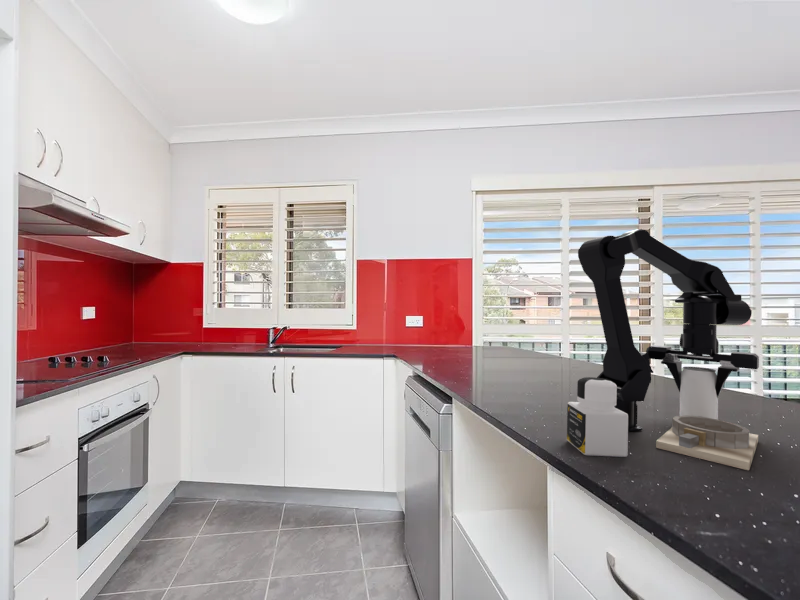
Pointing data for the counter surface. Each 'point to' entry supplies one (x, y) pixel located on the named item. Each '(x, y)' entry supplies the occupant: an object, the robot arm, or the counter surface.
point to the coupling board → (710, 440)
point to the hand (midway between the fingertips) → (698, 396)
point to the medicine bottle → (597, 419)
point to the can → (698, 392)
